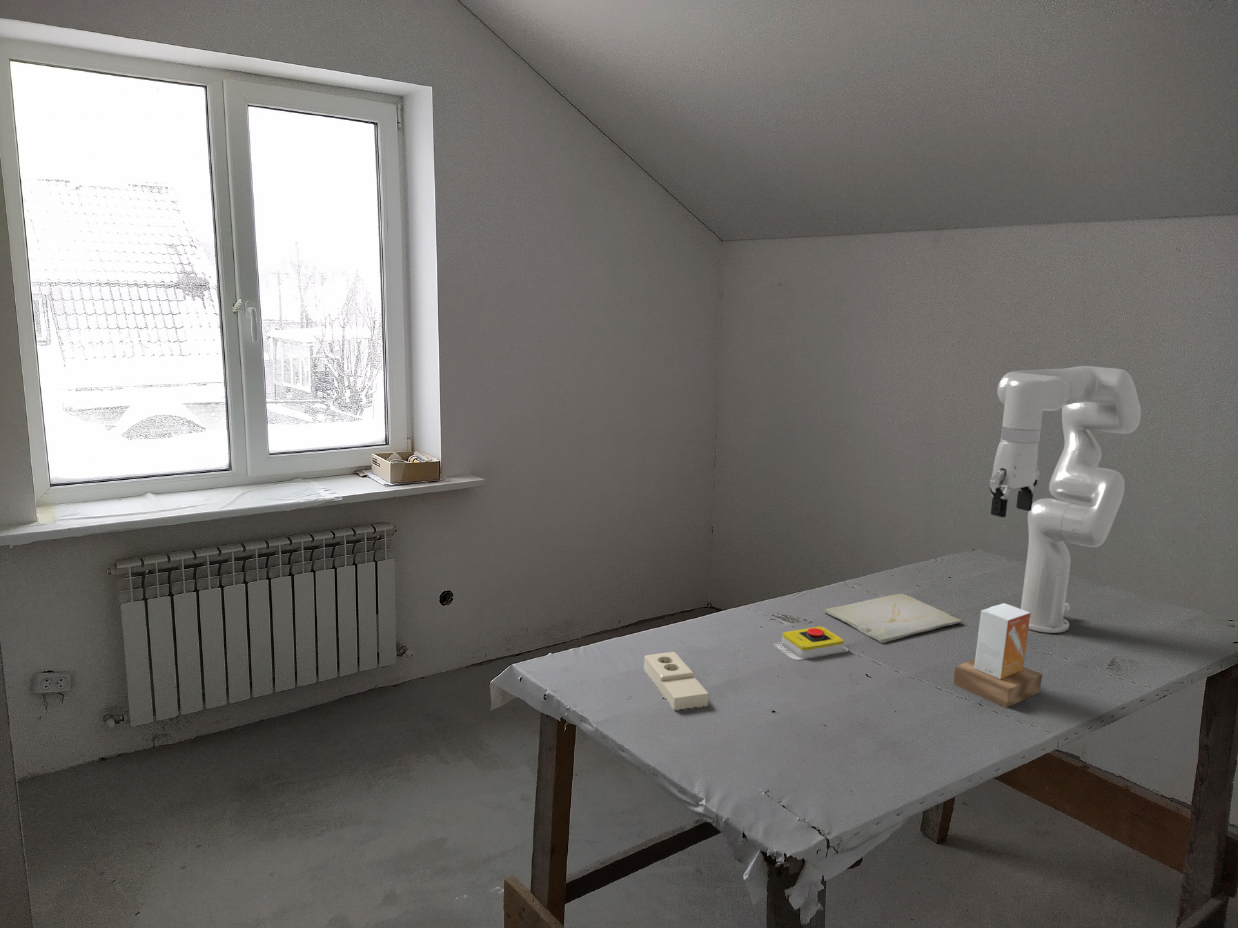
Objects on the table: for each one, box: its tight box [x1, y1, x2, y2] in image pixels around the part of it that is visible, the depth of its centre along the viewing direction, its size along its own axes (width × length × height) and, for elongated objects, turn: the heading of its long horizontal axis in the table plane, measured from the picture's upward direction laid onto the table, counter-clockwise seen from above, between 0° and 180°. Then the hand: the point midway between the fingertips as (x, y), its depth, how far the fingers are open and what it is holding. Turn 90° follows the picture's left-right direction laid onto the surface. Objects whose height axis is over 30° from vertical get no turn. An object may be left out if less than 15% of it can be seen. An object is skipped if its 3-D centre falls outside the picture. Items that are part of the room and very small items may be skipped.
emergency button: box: [773, 626, 849, 661], centre depth 197 cm, size 9×4×15 cm
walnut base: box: [953, 658, 1043, 709], centre depth 179 cm, size 12×12×4 cm
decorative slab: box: [823, 593, 963, 644], centre depth 215 cm, size 27×21×2 cm
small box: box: [974, 603, 1031, 679], centre depth 177 cm, size 8×6×13 cm
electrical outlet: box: [643, 651, 709, 711], centre depth 177 cm, size 7×4×18 cm
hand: (1011, 512), depth 189 cm, fingers open, 9 cm apart
